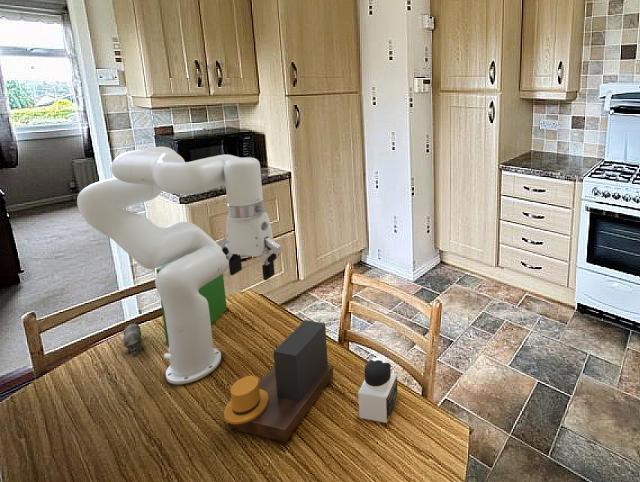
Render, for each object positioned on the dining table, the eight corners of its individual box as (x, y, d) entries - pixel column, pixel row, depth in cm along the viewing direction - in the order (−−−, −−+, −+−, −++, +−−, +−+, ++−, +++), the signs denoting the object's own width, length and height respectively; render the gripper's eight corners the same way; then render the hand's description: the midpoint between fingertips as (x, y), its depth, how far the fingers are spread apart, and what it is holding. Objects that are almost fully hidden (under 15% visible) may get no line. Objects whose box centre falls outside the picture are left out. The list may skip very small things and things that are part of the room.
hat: (214, 419, 82) (211, 397, 81) (245, 387, 91) (243, 367, 90) (248, 428, 80) (246, 405, 79) (277, 394, 89) (275, 374, 88)
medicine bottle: (387, 424, 85) (386, 378, 83) (358, 418, 87) (356, 373, 85) (398, 398, 92) (396, 355, 90) (371, 393, 94) (369, 351, 92)
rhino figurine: (125, 367, 103) (122, 347, 102) (124, 341, 113) (121, 323, 112) (145, 359, 105) (142, 340, 104) (141, 335, 115) (139, 318, 114)
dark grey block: (276, 396, 88) (272, 351, 86) (307, 360, 100) (304, 319, 98) (299, 401, 87) (295, 355, 85) (327, 364, 98) (325, 323, 96)
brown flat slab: (228, 430, 84) (226, 415, 83) (284, 368, 102) (283, 355, 101) (286, 445, 80) (284, 429, 80) (333, 378, 98) (332, 365, 98)
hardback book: (205, 308, 129) (198, 243, 125) (226, 308, 129) (219, 243, 125) (166, 343, 112) (156, 269, 108) (190, 343, 112) (181, 269, 108)
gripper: (287, 207, 91) (292, 271, 94) (229, 201, 95) (235, 264, 98) (265, 217, 84) (271, 287, 87) (203, 211, 88) (211, 278, 91)
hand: (252, 275), depth 92 cm, fingers open, 9 cm apart
